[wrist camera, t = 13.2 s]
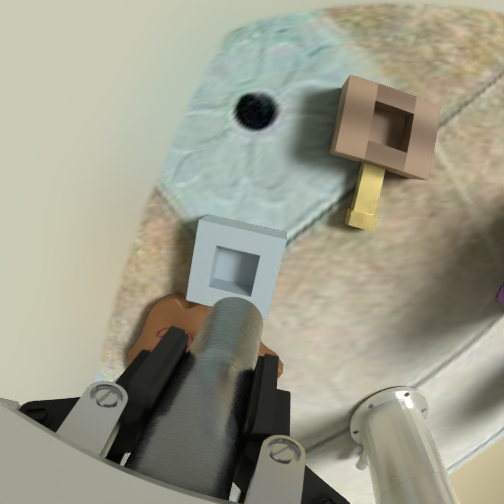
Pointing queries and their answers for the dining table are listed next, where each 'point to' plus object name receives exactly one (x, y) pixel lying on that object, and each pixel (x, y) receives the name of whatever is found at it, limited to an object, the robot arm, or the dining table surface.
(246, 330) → the peg
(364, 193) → the bar
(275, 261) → the grey square holed block
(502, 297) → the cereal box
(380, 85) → the socket block
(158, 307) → the plant
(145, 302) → the dining table surface
